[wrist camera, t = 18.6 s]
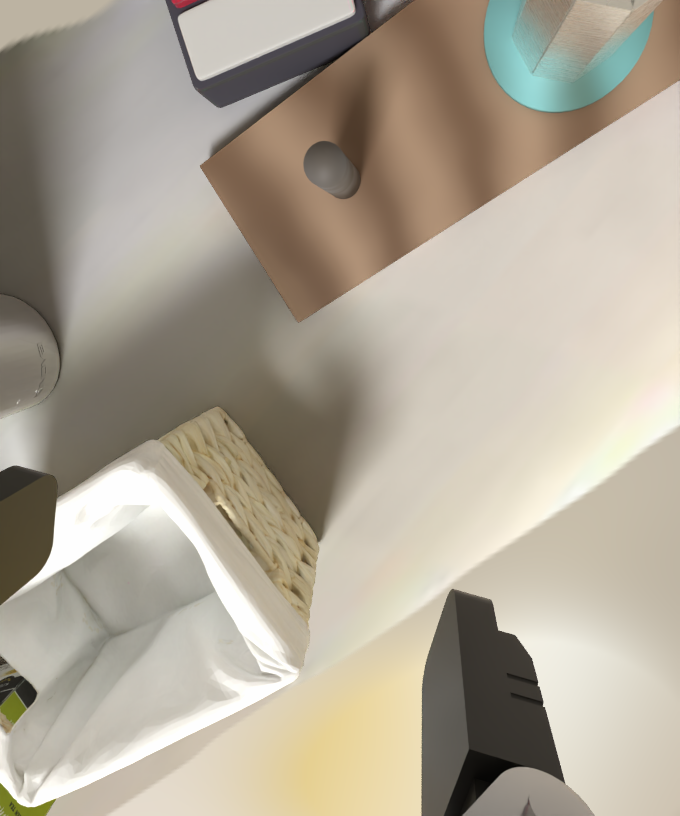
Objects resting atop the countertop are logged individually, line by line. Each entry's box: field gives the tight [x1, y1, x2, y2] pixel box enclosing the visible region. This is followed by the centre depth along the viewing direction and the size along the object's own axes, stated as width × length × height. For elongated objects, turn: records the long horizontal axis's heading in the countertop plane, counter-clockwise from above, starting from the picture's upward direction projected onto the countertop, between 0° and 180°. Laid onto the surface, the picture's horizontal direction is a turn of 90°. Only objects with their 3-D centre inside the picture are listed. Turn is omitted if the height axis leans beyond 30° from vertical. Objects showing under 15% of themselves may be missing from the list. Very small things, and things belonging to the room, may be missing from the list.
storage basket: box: [0, 406, 319, 807], centre depth 39 cm, size 24×16×15 cm
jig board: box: [200, 0, 680, 323], centre depth 31 cm, size 30×12×8 cm, turn 122°
